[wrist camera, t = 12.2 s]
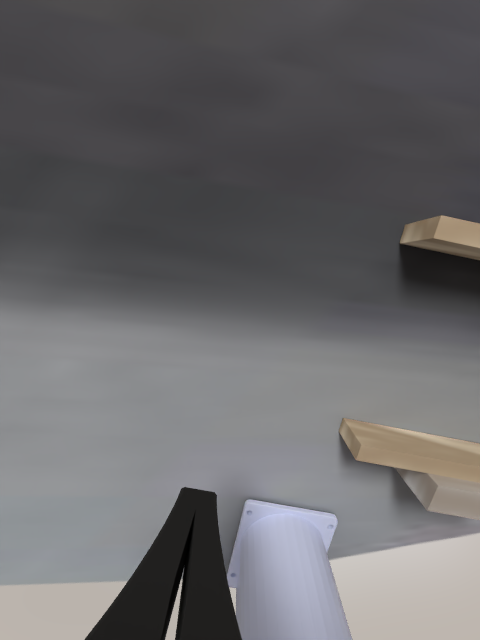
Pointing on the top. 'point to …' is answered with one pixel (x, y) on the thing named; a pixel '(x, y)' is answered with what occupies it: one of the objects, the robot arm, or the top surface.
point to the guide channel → (420, 448)
